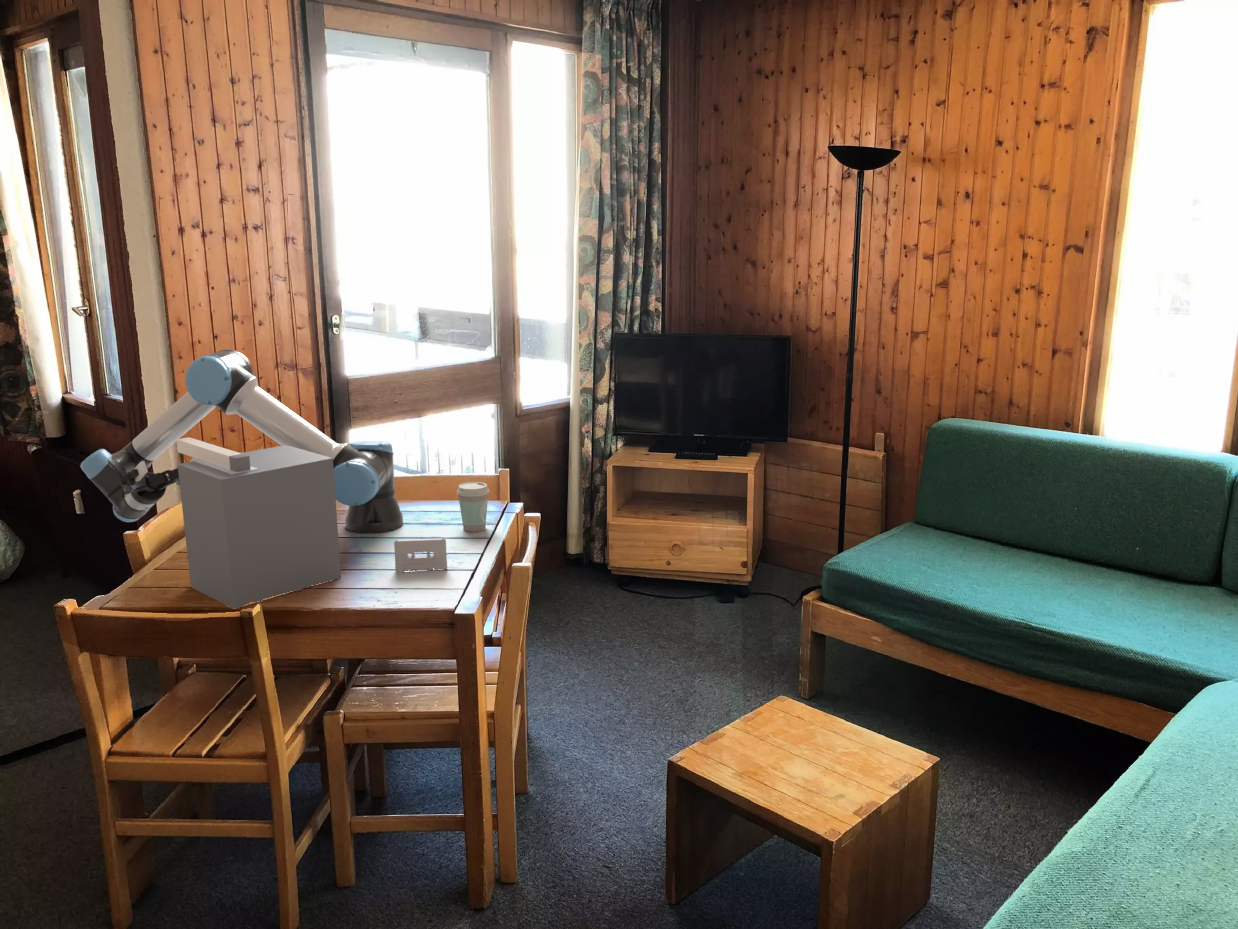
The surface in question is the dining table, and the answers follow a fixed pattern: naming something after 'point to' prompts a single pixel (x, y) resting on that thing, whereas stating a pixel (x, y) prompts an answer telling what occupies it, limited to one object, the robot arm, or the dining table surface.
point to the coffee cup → (473, 505)
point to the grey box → (260, 525)
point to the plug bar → (213, 454)
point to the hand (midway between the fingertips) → (174, 461)
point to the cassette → (420, 562)
